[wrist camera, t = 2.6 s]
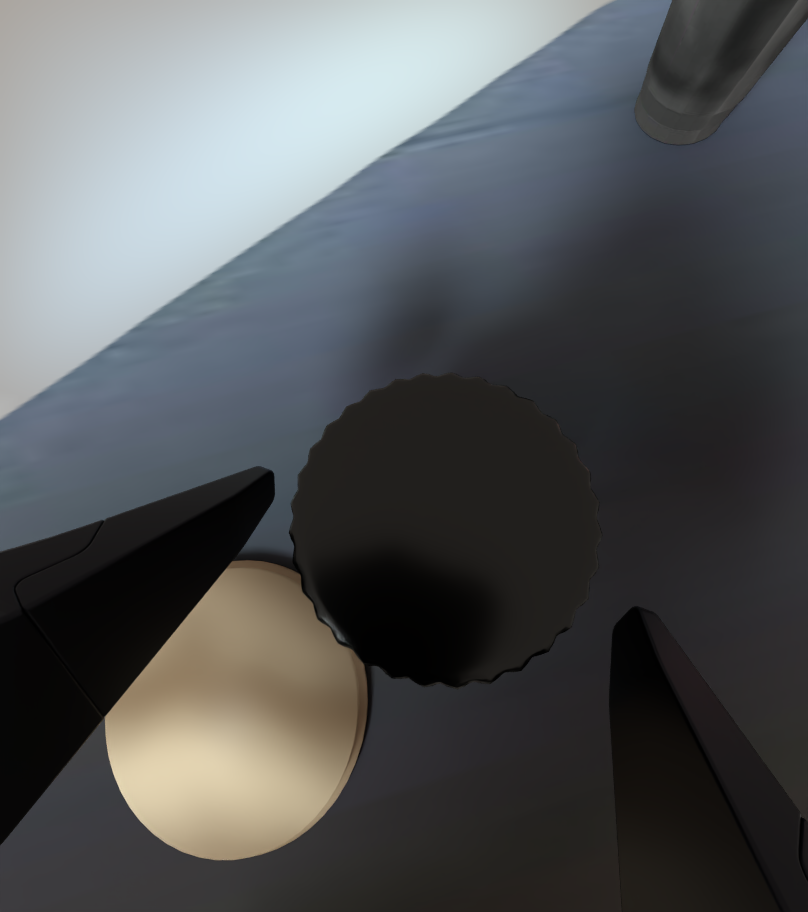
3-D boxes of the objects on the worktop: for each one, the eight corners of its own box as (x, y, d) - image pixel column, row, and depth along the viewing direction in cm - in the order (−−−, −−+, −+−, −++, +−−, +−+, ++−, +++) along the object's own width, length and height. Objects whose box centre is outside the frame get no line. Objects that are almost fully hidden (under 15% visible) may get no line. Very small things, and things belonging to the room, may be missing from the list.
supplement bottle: (475, 429, 18) (541, 244, 6) (547, 565, 17) (802, 646, 5) (345, 492, 18) (172, 419, 6) (405, 632, 17) (324, 874, 5)
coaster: (383, 839, 15) (381, 856, 14) (111, 864, 16) (94, 881, 15) (352, 544, 18) (348, 544, 17) (116, 577, 18) (102, 579, 18)
